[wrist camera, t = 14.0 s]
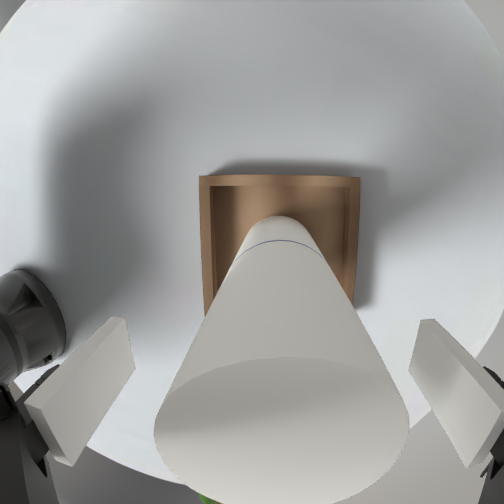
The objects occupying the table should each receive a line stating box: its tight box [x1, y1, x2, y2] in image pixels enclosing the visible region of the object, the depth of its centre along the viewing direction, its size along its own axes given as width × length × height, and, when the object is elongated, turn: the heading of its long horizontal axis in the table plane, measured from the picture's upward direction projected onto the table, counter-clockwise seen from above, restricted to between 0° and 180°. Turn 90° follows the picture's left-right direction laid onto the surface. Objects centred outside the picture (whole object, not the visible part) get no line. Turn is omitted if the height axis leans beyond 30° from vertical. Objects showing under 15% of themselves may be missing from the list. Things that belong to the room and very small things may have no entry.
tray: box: [199, 175, 360, 316], centre depth 30 cm, size 15×15×3 cm
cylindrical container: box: [154, 216, 409, 504], centre depth 19 cm, size 7×7×25 cm
